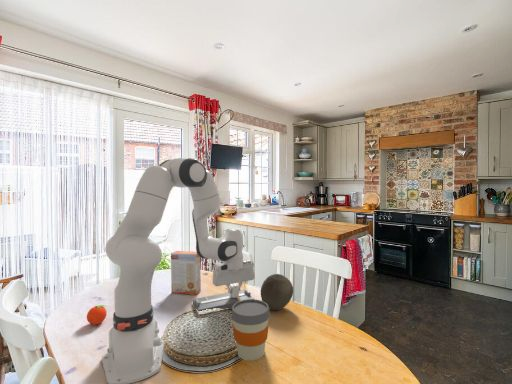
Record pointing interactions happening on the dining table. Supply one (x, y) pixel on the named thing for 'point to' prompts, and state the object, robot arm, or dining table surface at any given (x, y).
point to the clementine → (96, 314)
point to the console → (220, 300)
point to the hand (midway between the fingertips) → (234, 291)
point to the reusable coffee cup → (250, 328)
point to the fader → (234, 290)
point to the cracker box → (185, 272)
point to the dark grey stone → (276, 291)
